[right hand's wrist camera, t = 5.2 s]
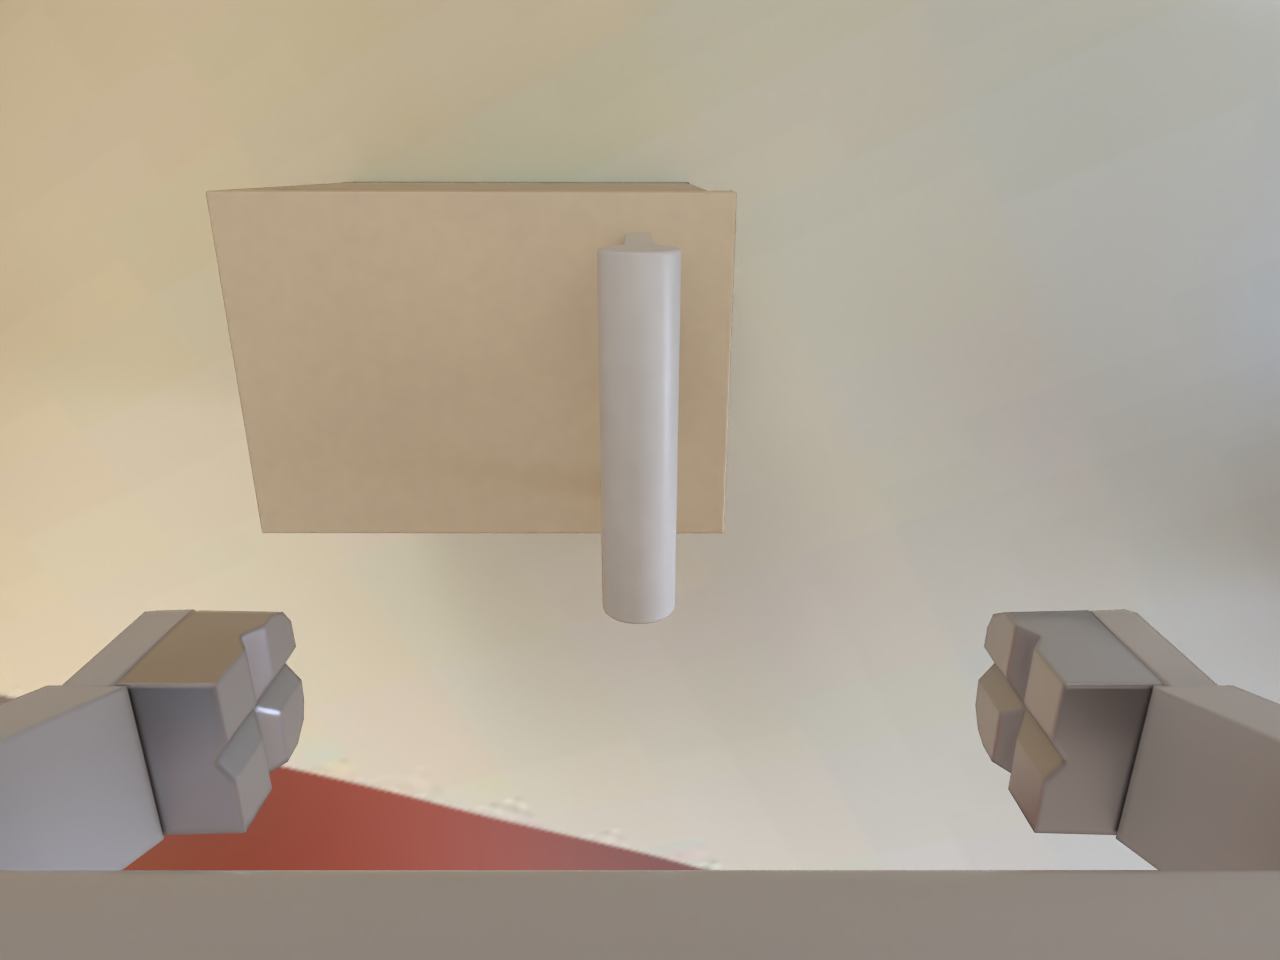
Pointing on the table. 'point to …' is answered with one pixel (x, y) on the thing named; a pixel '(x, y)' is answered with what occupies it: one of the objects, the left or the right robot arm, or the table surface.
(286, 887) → the right robot arm
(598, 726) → the table surface
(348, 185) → the chest
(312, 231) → the lid
